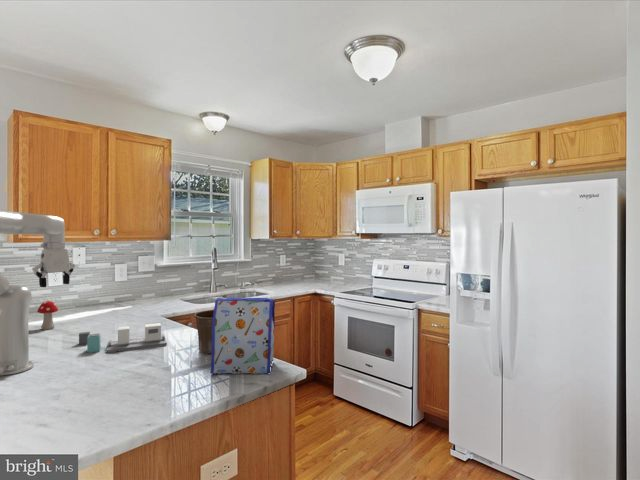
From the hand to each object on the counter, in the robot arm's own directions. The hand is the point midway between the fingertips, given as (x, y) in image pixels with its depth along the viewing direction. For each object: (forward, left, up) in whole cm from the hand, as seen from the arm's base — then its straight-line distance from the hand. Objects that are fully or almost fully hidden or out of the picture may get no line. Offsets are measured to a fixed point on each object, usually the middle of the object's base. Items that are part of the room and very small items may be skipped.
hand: (54, 285), depth 160 cm
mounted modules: (-7, -33, -27) cm, 43 cm away
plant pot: (-31, -62, -29) cm, 75 cm away
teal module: (-7, -15, -29) cm, 33 cm away
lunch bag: (-59, -68, -29) cm, 94 cm away
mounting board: (-7, -32, -29) cm, 43 cm away
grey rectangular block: (+7, -10, -29) cm, 31 cm away
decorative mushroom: (+49, +11, -29) cm, 58 cm away
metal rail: (-7, -32, -27) cm, 43 cm away
